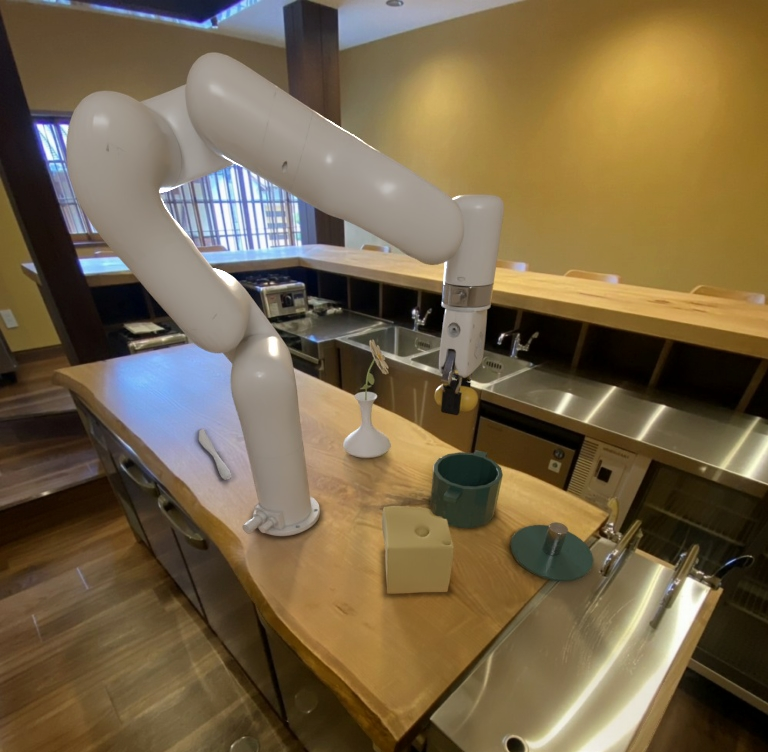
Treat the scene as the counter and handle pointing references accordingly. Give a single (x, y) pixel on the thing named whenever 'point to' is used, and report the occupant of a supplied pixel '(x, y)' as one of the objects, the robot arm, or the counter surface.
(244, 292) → the robot arm
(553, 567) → the lid
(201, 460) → the counter surface
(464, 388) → the yellow capsule
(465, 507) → the pot
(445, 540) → the cheese
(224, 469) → the butter knife
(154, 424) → the counter surface
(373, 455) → the flower in vase
